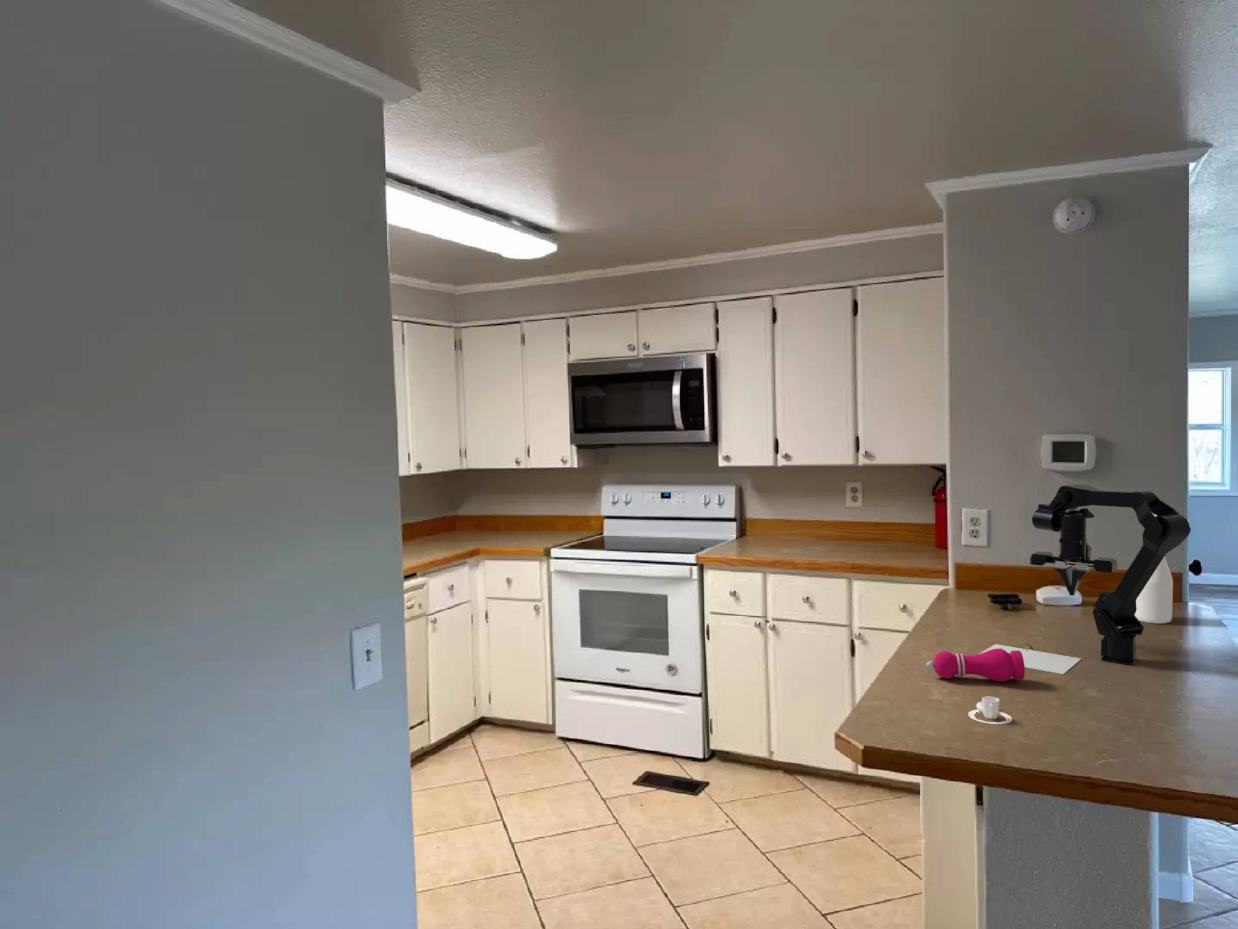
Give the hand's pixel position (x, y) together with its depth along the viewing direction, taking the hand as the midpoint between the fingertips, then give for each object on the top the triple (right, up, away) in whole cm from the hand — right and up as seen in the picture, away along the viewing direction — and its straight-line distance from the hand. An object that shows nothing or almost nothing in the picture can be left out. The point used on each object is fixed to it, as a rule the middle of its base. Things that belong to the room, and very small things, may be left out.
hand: (1072, 595), depth 211 cm
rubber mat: (-16, -14, -9) cm, 23 cm away
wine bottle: (+36, -11, +24) cm, 44 cm away
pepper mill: (-25, -11, -26) cm, 38 cm away
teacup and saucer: (-38, -17, -45) cm, 62 cm away
